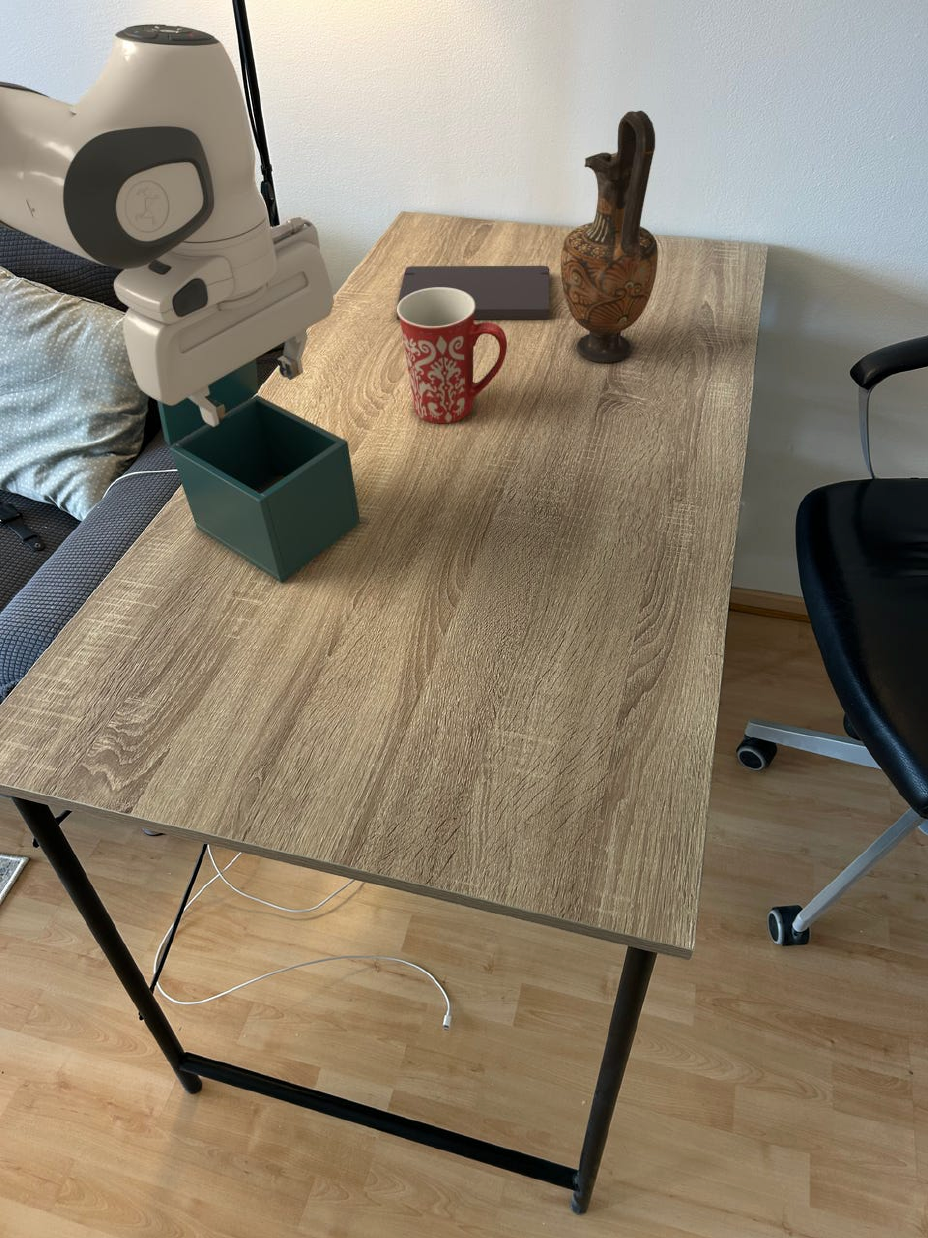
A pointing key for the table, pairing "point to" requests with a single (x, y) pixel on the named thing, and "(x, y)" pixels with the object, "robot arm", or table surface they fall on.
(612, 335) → the vase
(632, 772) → the table surface
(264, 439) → the teal open-top bin
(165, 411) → the lid
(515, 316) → the notebook
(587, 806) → the table surface
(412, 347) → the mug
